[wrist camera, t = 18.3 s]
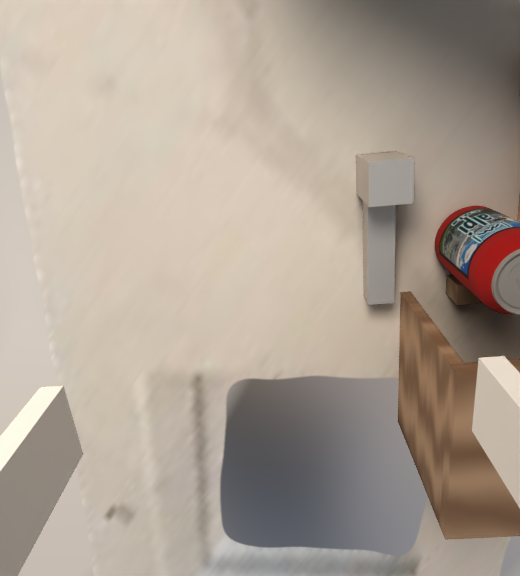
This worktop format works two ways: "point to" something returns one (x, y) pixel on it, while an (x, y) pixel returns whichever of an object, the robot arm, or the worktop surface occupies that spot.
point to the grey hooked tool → (382, 217)
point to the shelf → (448, 432)
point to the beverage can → (483, 255)
